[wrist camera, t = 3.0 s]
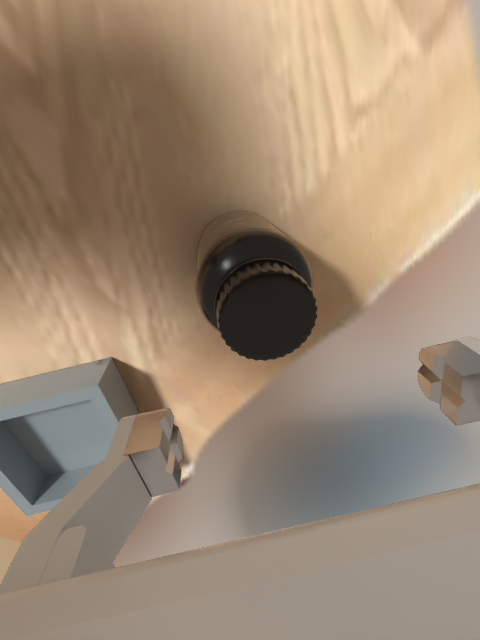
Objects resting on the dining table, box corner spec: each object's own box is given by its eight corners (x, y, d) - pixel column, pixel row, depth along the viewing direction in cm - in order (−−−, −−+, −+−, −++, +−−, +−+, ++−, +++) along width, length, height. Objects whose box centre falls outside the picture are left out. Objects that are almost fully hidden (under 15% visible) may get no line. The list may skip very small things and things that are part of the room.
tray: (-26, 390, 28) (-60, 422, 24) (111, 357, 28) (97, 384, 24) (45, 478, 34) (26, 515, 30) (158, 451, 33) (153, 485, 30)
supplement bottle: (197, 292, 26) (191, 378, 15) (197, 207, 23) (190, 239, 12) (275, 294, 26) (323, 377, 16) (286, 212, 23) (353, 247, 13)
